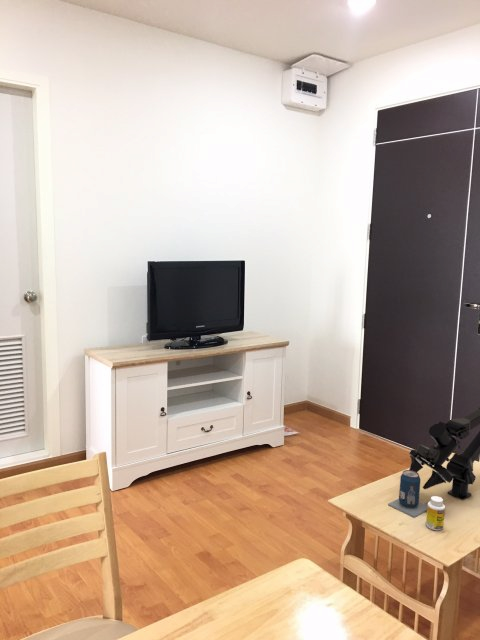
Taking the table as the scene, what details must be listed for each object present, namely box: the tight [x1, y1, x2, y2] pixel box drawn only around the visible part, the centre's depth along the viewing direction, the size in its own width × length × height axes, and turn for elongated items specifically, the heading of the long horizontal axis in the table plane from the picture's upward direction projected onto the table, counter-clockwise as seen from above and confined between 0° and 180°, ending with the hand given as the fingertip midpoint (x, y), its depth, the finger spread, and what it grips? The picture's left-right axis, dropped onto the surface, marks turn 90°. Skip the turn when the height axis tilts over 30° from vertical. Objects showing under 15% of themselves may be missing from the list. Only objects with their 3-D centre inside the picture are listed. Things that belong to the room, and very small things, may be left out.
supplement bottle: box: [425, 495, 446, 531], centre depth 180 cm, size 6×6×10 cm
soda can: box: [398, 469, 421, 508], centre depth 194 cm, size 7×7×12 cm
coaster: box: [387, 498, 428, 519], centre depth 194 cm, size 11×11×1 cm
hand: (415, 482), depth 194 cm, fingers open, 9 cm apart
